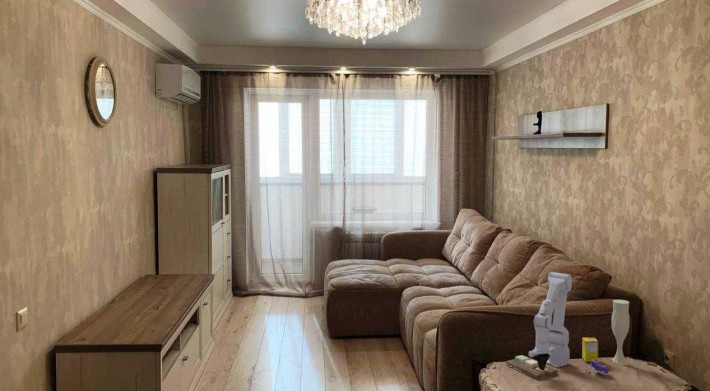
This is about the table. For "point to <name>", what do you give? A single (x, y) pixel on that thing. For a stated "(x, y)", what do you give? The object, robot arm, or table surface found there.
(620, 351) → the vase
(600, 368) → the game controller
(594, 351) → the supplement box
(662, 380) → the table surface
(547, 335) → the robot arm
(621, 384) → the table surface
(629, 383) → the table surface
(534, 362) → the cream button
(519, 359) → the sage button
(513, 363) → the button panel
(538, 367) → the terracotta button
